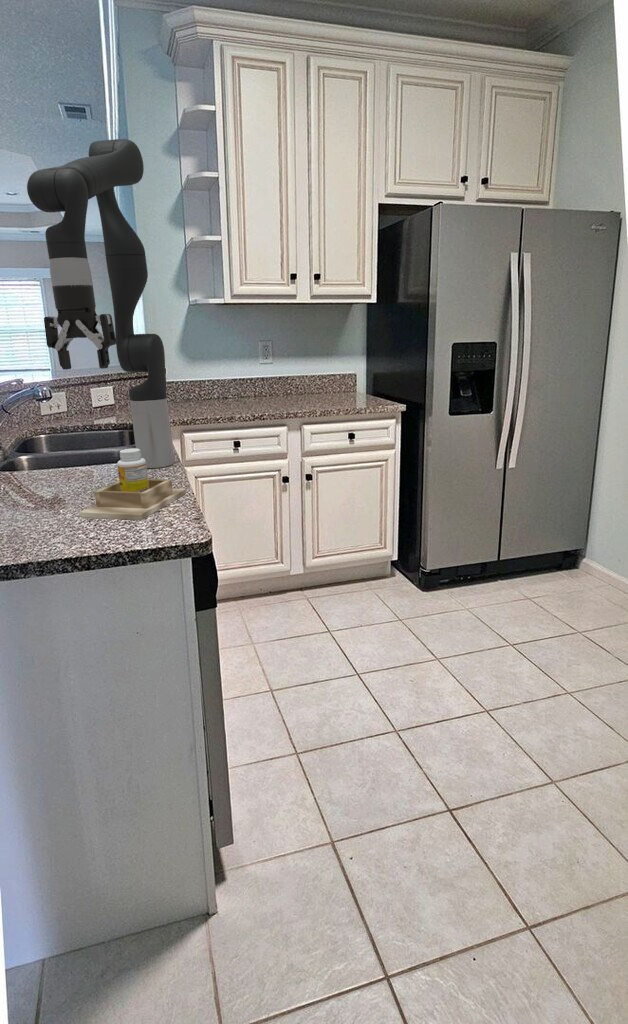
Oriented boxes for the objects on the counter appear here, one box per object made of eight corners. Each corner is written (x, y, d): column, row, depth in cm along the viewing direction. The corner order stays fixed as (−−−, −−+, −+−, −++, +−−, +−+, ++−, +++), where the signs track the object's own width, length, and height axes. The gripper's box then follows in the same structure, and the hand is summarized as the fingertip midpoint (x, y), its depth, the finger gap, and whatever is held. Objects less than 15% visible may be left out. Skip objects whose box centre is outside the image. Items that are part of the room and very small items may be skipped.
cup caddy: (132, 491, 135) (130, 474, 134) (186, 493, 132) (184, 475, 131) (80, 517, 118) (77, 497, 117) (141, 519, 115) (138, 499, 113)
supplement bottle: (125, 497, 127) (118, 448, 124) (152, 495, 128) (146, 446, 125) (119, 504, 122) (112, 453, 119) (148, 502, 122) (141, 451, 119)
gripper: (115, 283, 122) (126, 366, 127) (52, 286, 125) (65, 367, 130) (94, 281, 115) (106, 370, 120) (28, 285, 118) (43, 371, 123)
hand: (85, 368), depth 125 cm, fingers open, 8 cm apart
